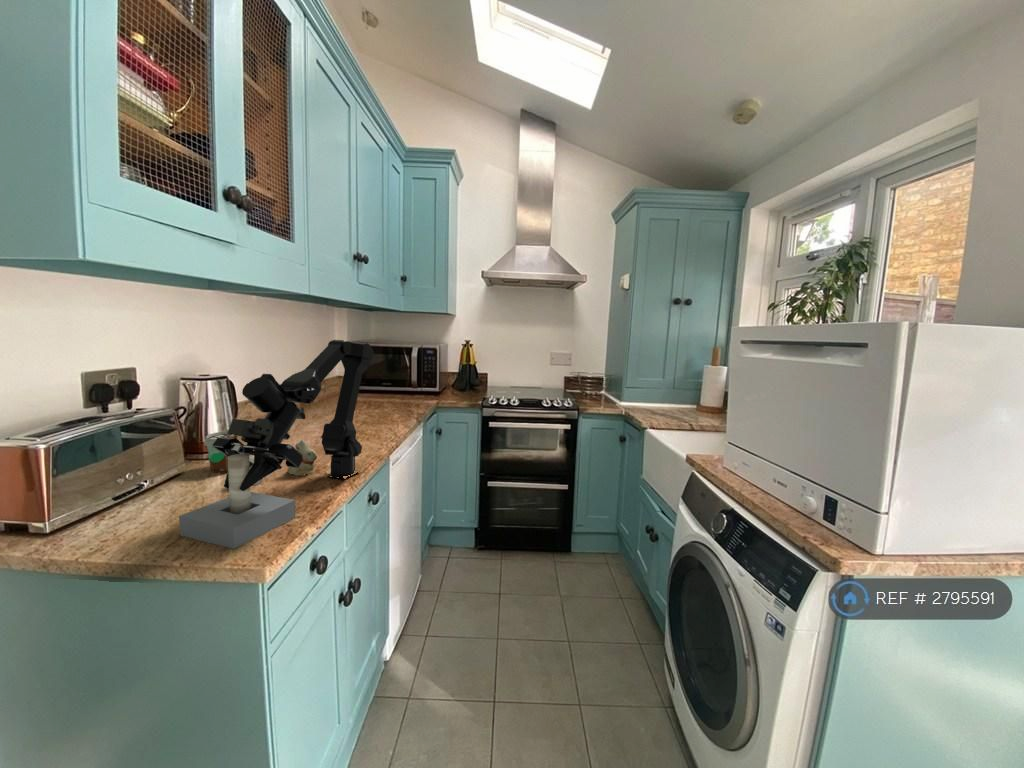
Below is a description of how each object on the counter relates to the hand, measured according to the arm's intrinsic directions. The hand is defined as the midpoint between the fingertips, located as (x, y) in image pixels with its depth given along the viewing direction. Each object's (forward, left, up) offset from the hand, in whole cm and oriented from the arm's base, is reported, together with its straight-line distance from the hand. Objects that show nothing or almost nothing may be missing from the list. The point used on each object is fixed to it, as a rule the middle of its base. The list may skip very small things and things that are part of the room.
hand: (233, 488), depth 79 cm
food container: (-24, -37, -9) cm, 45 cm away
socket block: (-1, 0, -8) cm, 9 cm away
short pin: (-20, -19, -9) cm, 29 cm away
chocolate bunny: (-31, -14, -9) cm, 35 cm away
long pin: (-1, 0, -7) cm, 7 cm away
